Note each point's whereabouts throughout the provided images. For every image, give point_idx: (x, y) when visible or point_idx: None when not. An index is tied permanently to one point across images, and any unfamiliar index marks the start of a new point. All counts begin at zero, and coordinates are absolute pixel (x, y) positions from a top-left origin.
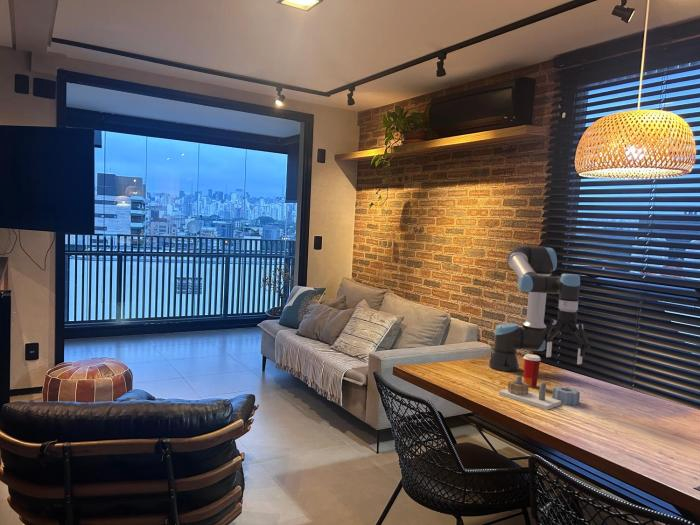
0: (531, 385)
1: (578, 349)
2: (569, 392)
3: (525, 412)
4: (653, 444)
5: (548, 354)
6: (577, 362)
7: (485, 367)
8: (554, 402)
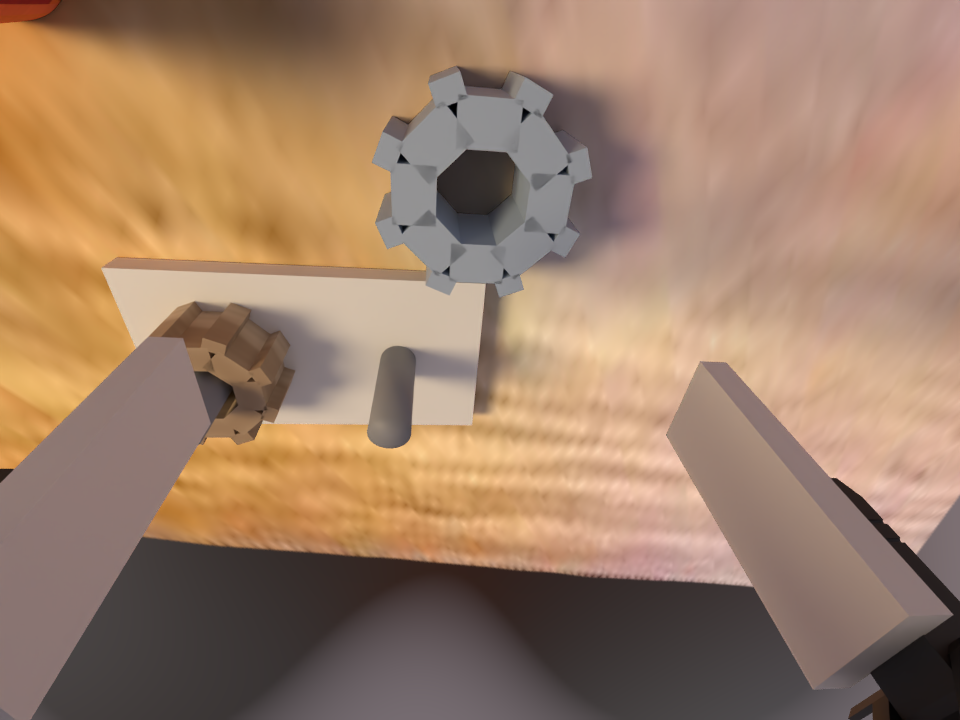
0: (48, 6)
1: (803, 663)
2: (527, 259)
3: (429, 498)
4: (896, 424)
5: (185, 442)
6: (680, 451)
7: None
8: (470, 347)
